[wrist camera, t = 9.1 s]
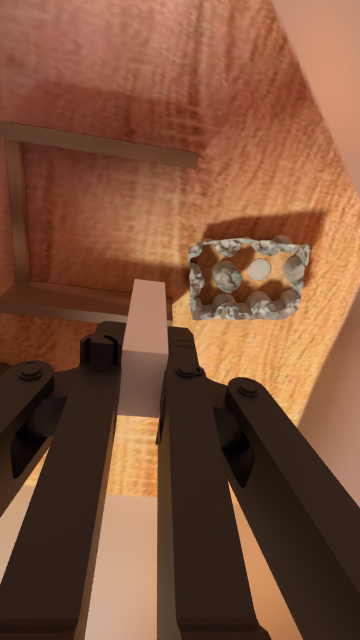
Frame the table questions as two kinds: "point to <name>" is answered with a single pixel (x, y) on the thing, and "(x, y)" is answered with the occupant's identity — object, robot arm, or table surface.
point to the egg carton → (258, 270)
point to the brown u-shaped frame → (24, 292)
